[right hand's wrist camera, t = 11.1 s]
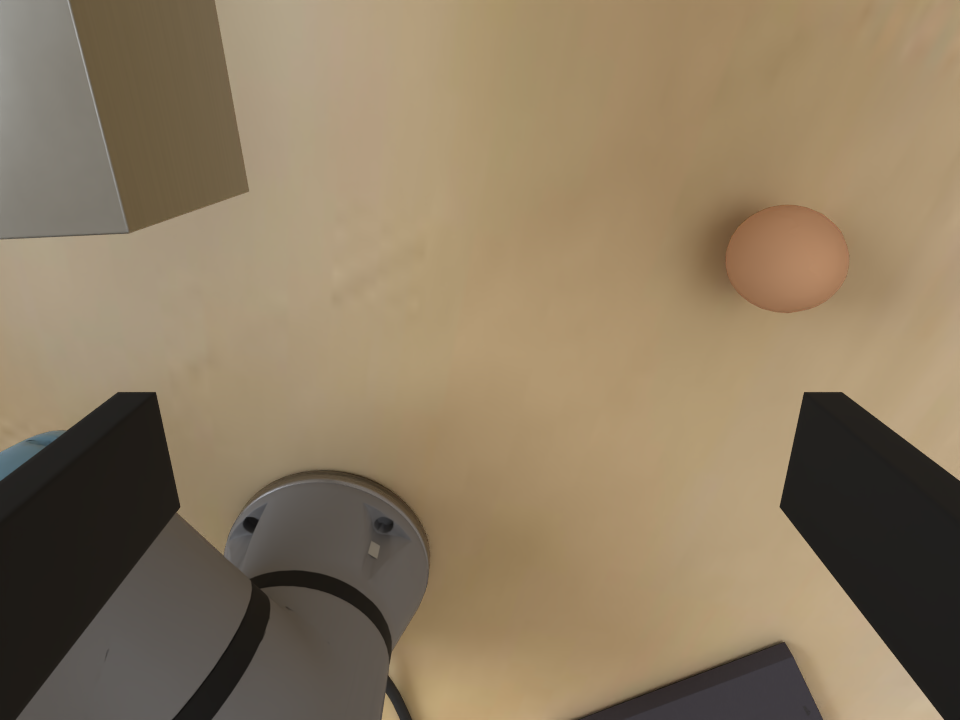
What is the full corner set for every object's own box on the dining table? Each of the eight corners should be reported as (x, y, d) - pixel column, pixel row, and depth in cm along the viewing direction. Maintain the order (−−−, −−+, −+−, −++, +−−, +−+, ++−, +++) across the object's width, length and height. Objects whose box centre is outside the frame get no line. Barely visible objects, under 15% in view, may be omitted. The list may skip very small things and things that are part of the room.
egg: (713, 302, 40) (766, 343, 33) (703, 210, 38) (757, 233, 30) (806, 280, 39) (882, 317, 32) (802, 187, 37) (881, 204, 30)
